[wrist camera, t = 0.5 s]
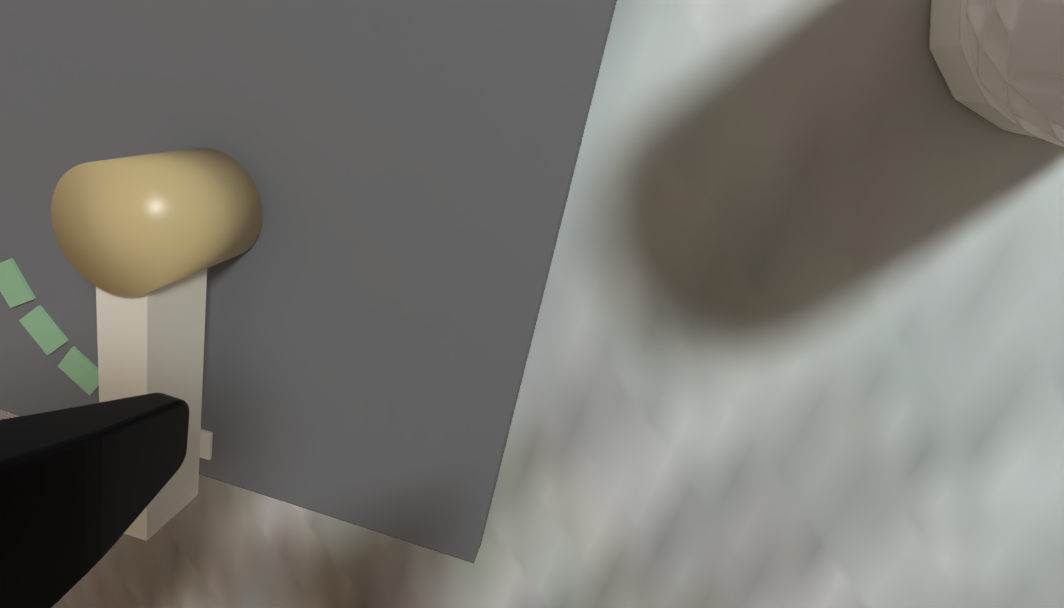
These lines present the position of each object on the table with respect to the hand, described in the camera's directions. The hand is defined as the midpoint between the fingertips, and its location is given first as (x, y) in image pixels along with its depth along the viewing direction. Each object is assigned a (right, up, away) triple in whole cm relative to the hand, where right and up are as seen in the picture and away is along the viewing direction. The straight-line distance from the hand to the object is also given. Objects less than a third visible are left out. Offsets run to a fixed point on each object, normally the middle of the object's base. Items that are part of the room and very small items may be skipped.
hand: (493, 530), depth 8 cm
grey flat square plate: (-10, +7, +13) cm, 18 cm away
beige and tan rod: (-11, +2, +14) cm, 17 cm away
